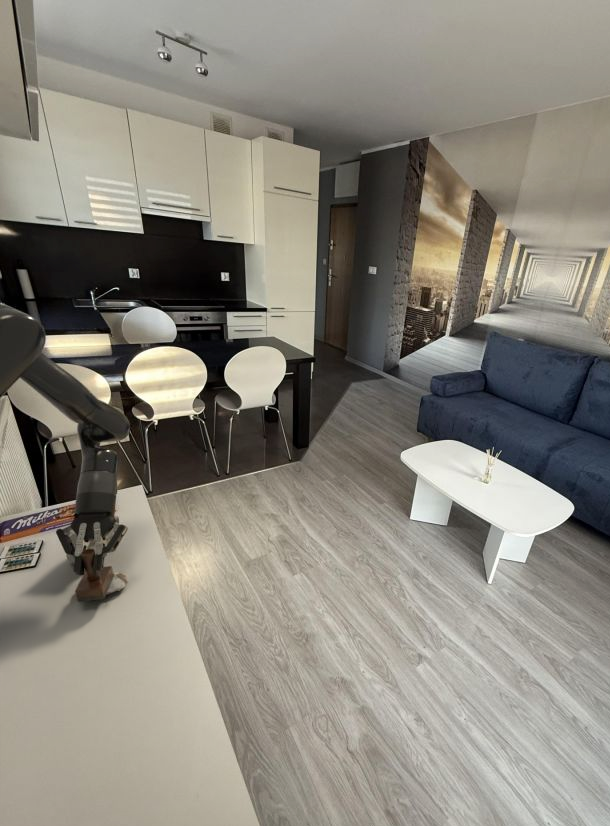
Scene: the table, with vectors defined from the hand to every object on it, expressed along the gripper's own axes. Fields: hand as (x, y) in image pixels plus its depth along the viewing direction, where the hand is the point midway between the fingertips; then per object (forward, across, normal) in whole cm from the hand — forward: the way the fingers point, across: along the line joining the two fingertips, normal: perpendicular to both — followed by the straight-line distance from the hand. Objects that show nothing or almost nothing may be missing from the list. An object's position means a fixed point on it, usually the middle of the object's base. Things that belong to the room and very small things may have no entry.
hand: (88, 574), depth 83 cm
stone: (+3, 0, +10) cm, 10 cm away
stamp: (+3, 0, +6) cm, 6 cm away
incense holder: (-6, -5, +19) cm, 20 cm away
